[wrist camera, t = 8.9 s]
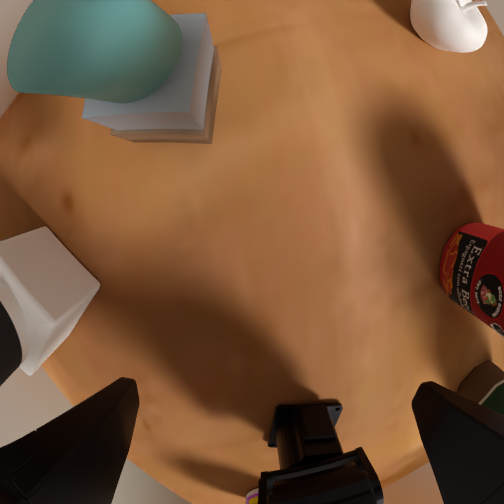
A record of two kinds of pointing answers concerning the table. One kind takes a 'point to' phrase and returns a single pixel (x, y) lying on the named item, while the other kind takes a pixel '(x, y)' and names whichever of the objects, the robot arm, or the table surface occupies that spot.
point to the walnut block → (184, 134)
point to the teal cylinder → (94, 49)
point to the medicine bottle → (38, 298)
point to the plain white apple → (449, 24)
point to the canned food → (476, 272)
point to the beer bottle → (485, 387)
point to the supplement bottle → (252, 497)
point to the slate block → (168, 88)
